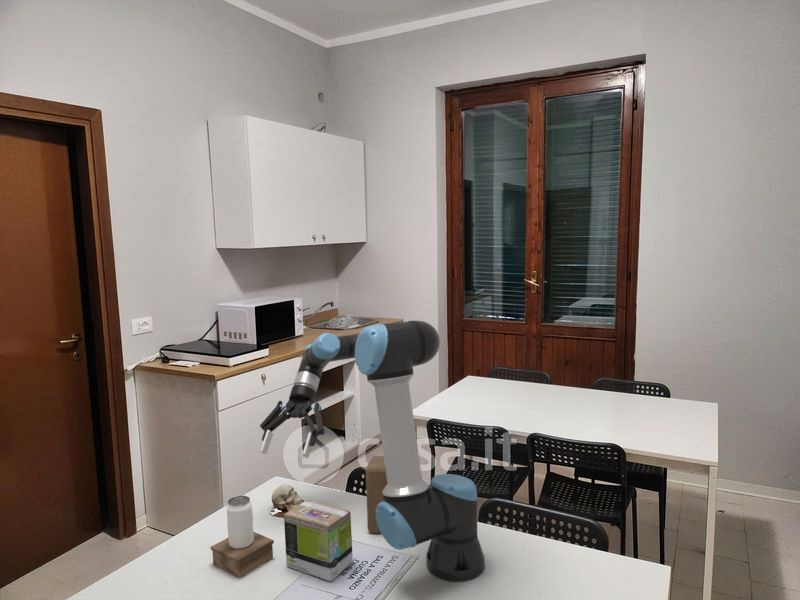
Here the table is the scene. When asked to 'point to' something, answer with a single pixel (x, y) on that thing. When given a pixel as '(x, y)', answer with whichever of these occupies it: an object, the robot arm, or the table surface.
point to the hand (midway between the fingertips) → (284, 454)
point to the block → (375, 489)
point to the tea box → (318, 539)
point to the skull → (285, 499)
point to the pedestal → (242, 555)
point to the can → (240, 522)
